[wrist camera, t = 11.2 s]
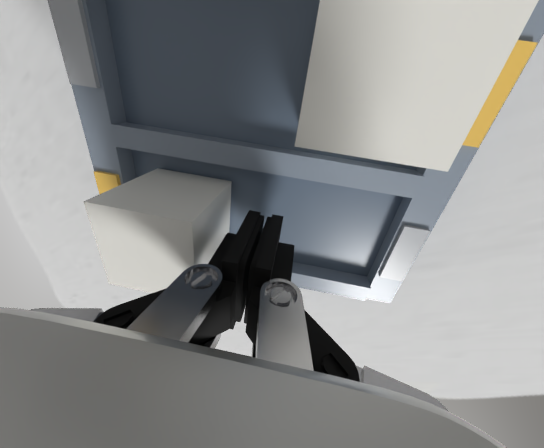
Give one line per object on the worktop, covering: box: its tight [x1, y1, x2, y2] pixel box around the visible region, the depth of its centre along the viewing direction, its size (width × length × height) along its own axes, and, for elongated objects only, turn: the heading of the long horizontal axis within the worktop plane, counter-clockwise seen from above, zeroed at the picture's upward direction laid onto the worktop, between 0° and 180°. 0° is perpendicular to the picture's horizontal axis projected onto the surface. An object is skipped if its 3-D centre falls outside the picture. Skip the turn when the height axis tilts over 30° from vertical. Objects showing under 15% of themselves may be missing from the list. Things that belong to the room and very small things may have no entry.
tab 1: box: [84, 168, 232, 293], centre depth 11 cm, size 4×4×4 cm
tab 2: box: [294, 0, 539, 172], centre depth 7 cm, size 4×4×4 cm
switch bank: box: [48, 0, 544, 303], centre depth 10 cm, size 17×21×3 cm
